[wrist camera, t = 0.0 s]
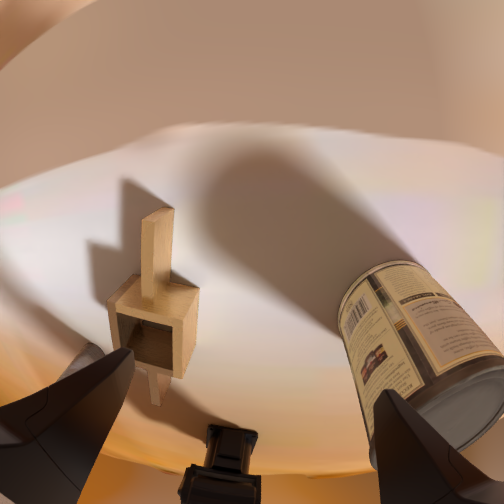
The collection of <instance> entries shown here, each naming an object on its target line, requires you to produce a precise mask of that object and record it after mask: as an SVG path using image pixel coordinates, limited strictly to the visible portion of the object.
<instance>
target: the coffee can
mask: <svg viewBox="0 0 504 504" xmlns="http://www.w3.org/2000/svg"><path fill="white" fill-rule="evenodd" d="M337 320H338V328H339V332H340V334H341V337H342V339H343V343H344V347H345V350H346V353H347V357H348V360H349V364H350V367H351V371H352V375H353V379H354V382H355V386H356V390H357V394H358V398H359V403H360V407H361V411H362V415H363V419H364V424H365V428H366V432H367V437H368V441H369V446H370V449H369V458H370V463H371V465H372V467H373V468H374V469H375V470H377V471H378V468H377V460H376V452H375V443H374V418H373V406H374V403H375V401H376V399H377V398H378V396H379V395H380V393H381V392H382V390H384V389H394V390H395V391H396V392H397V393H398V394H400V395H401V396H402V397H403V398H404V399H405V400H406V401H407V402H408V403H409V404H410V405H411V406H412V407H413V408H414V409H415V410H416V411H417V412H418V413H419V414H420V415H421V416H422V417H423V418H424V419H425V420H426V421H427V422H428V423H429V424H430V425H431V426H432V427H433V428H434V429H435V430H436V431H437V432H438V433H439V434H440V435H441V436H442V437H443V438H444V439H445V440H446V441H447V442H448V443H449V445H452V446H453V447H454V448H455V449H456V450H457V451H458V452H461V451H462V450H464V449H466V448H467V447H468V446H470V445H471V444H473V443H474V442H475V441H476V440H478V439H479V438H480V437H481V436H483V435H484V433H486V432H487V431H488V430H489V429H490V428H491V427H492V426H493V425H494V424H495V423H496V422H497V421H498V420H499V418H500V417H501V416H502V415H503V413H504V356H503V355H502V354H501V352H500V351H499V350H498V349H497V347H496V346H495V345H494V344H493V343H492V341H491V340H490V339H489V338H488V337H487V335H486V334H485V333H484V332H483V331H482V330H481V328H480V327H479V326H478V325H477V324H476V323H475V322H474V321H473V319H472V318H471V317H470V316H469V315H468V314H467V313H466V312H465V311H464V310H463V308H462V307H461V306H460V305H459V304H458V303H457V302H456V301H455V300H454V299H453V298H452V297H451V296H450V295H449V294H448V293H447V291H446V290H445V289H444V288H443V287H442V286H441V285H440V284H439V283H438V282H437V281H436V280H435V279H434V278H433V277H432V276H431V275H430V273H429V272H428V271H427V270H426V269H425V268H423V267H422V266H420V265H419V264H416V263H414V262H410V261H403V260H399V261H390V262H387V263H383V264H380V265H378V266H375V267H373V268H371V269H370V270H368V271H366V272H365V273H364V274H362V275H361V276H360V277H359V278H358V279H357V280H356V281H354V283H353V284H352V285H351V287H350V288H349V289H348V291H347V292H346V294H345V296H344V297H343V299H342V302H341V304H340V308H339V312H338V319H337Z"/></svg>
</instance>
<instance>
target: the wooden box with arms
mask: <svg viewBox="0 0 504 504" xmlns="http://www.w3.org/2000/svg"><path fill="white" fill-rule="evenodd" d="M173 220H174V209H173V208H166V207H162V208H160V209H159V210H157V211H155V212H154V213H152V214H150V215H149V216H147V217H145V218H144V219H142V224H141V276H140V275H135V274H133V275H132V276H131V277H130V278H129V279H128V280H127V281H126V282H125V283H124V284H123V285H122V286H121V287H120V288H119V289H118V290H117V291H116V292H115V293H114V294H113V295H112V296H111V297H110V298H109V299H108V300H107V308H108V316H109V323H110V330H111V337H112V343H113V349H114V351H115V350H117V349H118V348H120V347H126V348H129V349H132V350H133V352H134V359H135V366H136V367H139V368H142V369H146V370H147V373H148V382H149V390H150V397H151V404H153V405H156V406H160V407H161V404H162V402H163V399H164V397H165V395H166V392H167V390H168V387H169V385H170V383H171V377H175V378H179V379H183V376H184V373H185V371H186V368H187V366H188V363H189V361H190V358H191V355H192V353H193V350H194V348H195V345H196V334H197V318H198V304H199V291H200V288H196V287H191V286H186V285H182V284H177V283H172V282H170V277H171V253H172V235H173ZM143 319H144V320H148V321H152V322H156V323H160V324H164V325H168V326H172V327H173V333H172V332H168V331H164V330H160V329H156V328H152V327H148V326H144V325H143Z"/></svg>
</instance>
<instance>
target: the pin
mask: <svg viewBox="0 0 504 504" xmlns="http://www.w3.org/2000/svg"><path fill="white" fill-rule="evenodd" d="M104 356H105V354H104V353H103V351H102V350H101V349H100V348H99V347H98V346H97V345H95V344H92V343H87V344H86V345H85V346H84V347H83V349H82V350H81V351H80V352H79V354H78V355H77V356H76V357H75V359H74V360H73V361H72V362H71V364H70V365H69V366H68V367H67V369H66V370H65V371H64V372H63V374H62V375H61V376H60V377H59V379H58V380H57V381H59V380H61V379H63V378H65V377H67V376H69V375H70V374H72V373H74V372H76V371H78V370H80V369H82V368H83V367H85V366H87V365H89V364H91V363H93V362H95V361H96V360H98V359H100V358H102V357H104ZM57 381H56V382H57Z"/></svg>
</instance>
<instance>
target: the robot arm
mask: <svg viewBox="0 0 504 504" xmlns="http://www.w3.org/2000/svg"><path fill="white" fill-rule="evenodd" d="M134 372H135V359H134V352H133V350H132V349H129V348H126V347H120V348H118V349H117V350H115V351H113V352H111V353H109V354H108V355H106V356H104V357H102V358H100V359H98V360H96V361H95V362H93V363H91V364H89V365H87V366H85V367H83V368H82V369H80V370H78V371H76V372H74V373H72V374H70V375H69V376H67V377H65V378H63V379H61V380H59V381H57V382H55V383H53V384H52V385H50V386H49V388H48V387H46V388H44V389H42V390H40V391H38V392H36V393H34V394H32V395H30V396H27V397H25V398H22V399H20V400H17V401H15V402H12V403H9V404H7V405H4V406H1V407H0V504H77V501H78V499H79V497H80V494H81V491H82V489H83V487H84V485H85V483H86V481H87V478H88V476H89V474H90V472H91V469H92V467H93V465H94V463H95V461H96V459H97V457H98V454H99V452H100V450H101V448H102V446H103V444H104V442H105V440H106V438H107V436H108V433H109V431H110V429H111V427H112V425H113V423H114V421H115V419H116V417H117V415H118V413H119V411H120V409H121V407H122V405H123V402H124V399H125V397H126V394H127V391H128V388H129V385H130V383H131V380H132V377H133V375H134ZM373 418H374V443H375V452H376V460H377V468H378V477H379V488H380V500H381V504H504V482H501V481H495V480H493V479H491V478H489V477H488V476H487V475H485V474H484V473H483V472H482V471H480V470H479V469H478V468H477V467H475V466H474V465H472V464H471V463H470V462H469V461H468V460H467V459H466V458H464V457H463V456H462V455H461V454H460V453H459V452H458V451H457V450H456V449H455V448H454V447H453V446H452V445H449V443H448V442H447V441H446V440H445V439H444V438H443V437H442V436H441V435H440V434H439V433H438V432H437V431H436V430H435V429H434V428H433V427H432V426H431V425H430V424H429V423H428V422H427V421H426V420H425V419H424V418H423V417H422V416H421V415H420V414H419V413H418V412H417V411H416V410H415V409H414V408H413V407H412V406H411V405H410V404H409V403H408V402H407V401H406V400H405V399H404V398H403V397H402V396H401V395H400V394H398V393H397V392H396V391H395V390H394V389H384V390H382V392H381V393H380V395H379V396H378V398H377V399H376V401H375V403H374V406H373ZM257 438H258V433H256V432H249V431H243V430H237V429H231V428H225V427H220V426H215V425H209V426H208V430H207V442H206V448H207V453H206V457H205V461H204V466H203V467H202V466H197V465H196V464H191V467H188V468H186V471H185V474H184V477H183V480H182V482H181V485H180V487H179V489H178V495H179V496H180V500H181V504H261V503H260V502H261V475H249V474H248V473H249V465H250V456H251V454H252V452H253V449H254V446H255V444H256V441H257Z"/></svg>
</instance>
